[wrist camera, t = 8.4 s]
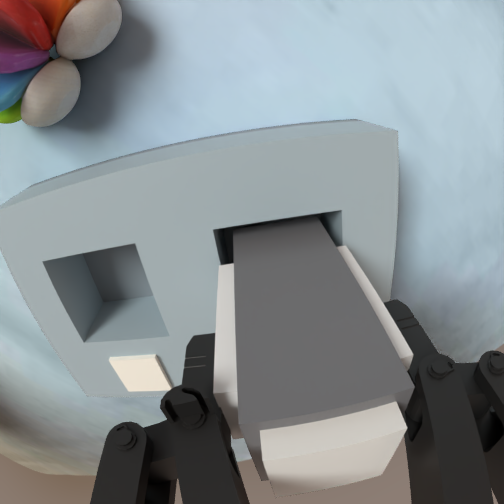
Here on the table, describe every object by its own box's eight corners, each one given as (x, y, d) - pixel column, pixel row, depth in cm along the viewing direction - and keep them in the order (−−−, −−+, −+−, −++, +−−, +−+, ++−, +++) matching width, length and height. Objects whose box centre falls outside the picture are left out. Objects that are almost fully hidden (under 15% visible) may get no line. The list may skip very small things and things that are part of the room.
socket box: (104, 349, 23) (86, 399, 18) (32, 184, 16) (-17, 217, 11) (356, 315, 22) (380, 367, 18) (355, 119, 16) (401, 132, 11)
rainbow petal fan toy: (152, 1, 12) (105, -48, 6) (63, 143, 15) (-12, 178, 9) (54, -37, 9) (-11, -70, 3) (-17, 91, 13) (-93, 108, 6)
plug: (246, 298, 17) (263, 502, 7) (233, 229, 15) (240, 455, 5) (320, 285, 17) (390, 475, 7) (317, 216, 15) (427, 413, 5)
